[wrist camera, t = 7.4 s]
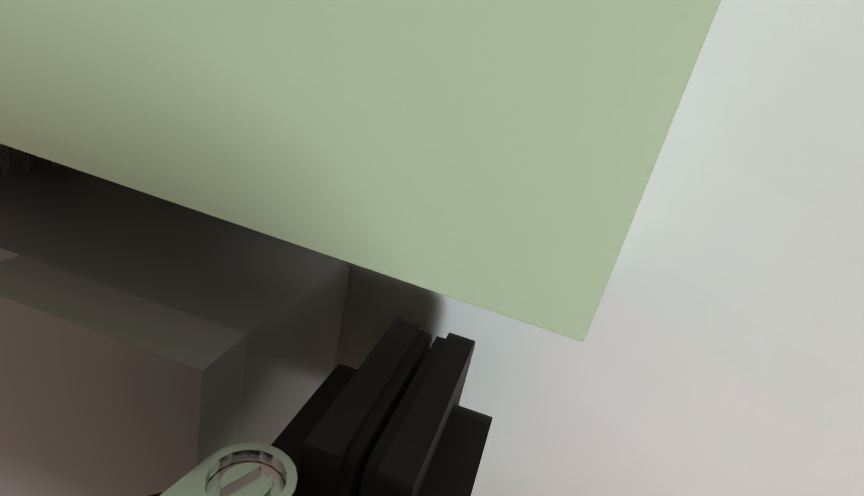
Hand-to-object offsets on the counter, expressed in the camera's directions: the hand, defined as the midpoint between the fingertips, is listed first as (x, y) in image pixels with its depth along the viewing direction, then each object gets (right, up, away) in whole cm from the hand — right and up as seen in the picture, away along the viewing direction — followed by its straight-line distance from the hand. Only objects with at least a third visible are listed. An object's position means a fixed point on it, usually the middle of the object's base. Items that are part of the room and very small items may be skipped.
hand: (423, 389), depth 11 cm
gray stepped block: (-5, +2, +2) cm, 6 cm away
